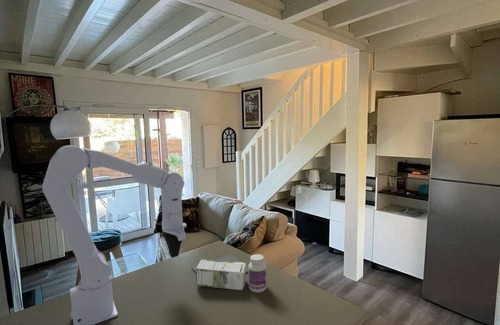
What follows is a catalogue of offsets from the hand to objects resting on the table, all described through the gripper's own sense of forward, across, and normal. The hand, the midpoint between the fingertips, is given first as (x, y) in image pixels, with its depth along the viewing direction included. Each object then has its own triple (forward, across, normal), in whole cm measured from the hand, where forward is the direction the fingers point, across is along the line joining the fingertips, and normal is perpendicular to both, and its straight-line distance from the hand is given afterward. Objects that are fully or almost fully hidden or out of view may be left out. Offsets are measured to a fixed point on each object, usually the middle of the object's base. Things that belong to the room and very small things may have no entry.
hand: (174, 256), depth 82 cm
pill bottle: (+10, -16, -19) cm, 27 cm away
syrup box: (+6, -3, -6) cm, 9 cm away
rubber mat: (+10, 0, -16) cm, 19 cm away
